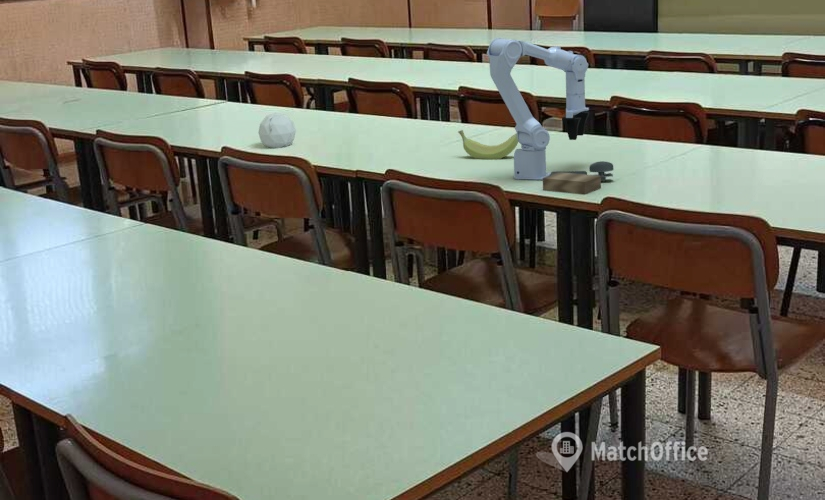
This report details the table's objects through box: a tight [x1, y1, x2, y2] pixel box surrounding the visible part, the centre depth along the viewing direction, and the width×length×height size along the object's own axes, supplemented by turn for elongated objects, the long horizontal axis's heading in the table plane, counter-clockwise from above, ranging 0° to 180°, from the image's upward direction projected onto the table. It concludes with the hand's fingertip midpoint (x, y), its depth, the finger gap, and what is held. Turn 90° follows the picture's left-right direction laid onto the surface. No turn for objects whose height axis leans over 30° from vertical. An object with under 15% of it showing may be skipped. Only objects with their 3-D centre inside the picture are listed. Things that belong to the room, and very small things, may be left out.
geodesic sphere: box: [258, 112, 297, 149], centre depth 402 cm, size 15×14×14 cm
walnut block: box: [542, 172, 602, 195], centre depth 308 cm, size 14×9×4 cm, turn 51°
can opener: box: [549, 160, 614, 182], centre depth 317 cm, size 19×5×6 cm, turn 76°
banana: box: [457, 129, 519, 160], centre depth 357 cm, size 14×6×20 cm
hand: (576, 137), depth 331 cm, fingers open, 7 cm apart
